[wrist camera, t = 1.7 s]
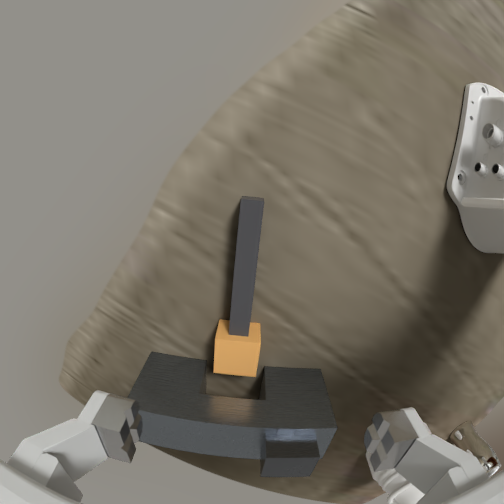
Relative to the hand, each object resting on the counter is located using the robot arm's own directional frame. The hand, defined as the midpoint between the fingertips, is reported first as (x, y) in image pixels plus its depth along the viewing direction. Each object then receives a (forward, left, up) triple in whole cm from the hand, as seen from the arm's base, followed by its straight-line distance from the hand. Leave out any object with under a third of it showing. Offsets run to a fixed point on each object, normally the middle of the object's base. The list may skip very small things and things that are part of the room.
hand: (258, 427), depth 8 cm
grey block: (+17, -1, -22) cm, 28 cm away
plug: (+4, -1, -22) cm, 22 cm away
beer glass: (+35, +48, -22) cm, 63 cm away
